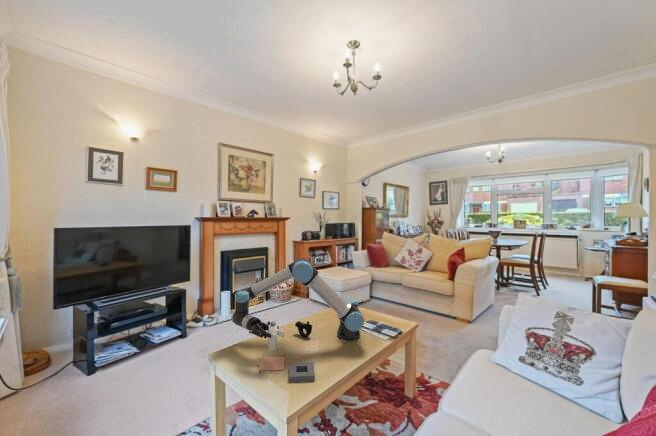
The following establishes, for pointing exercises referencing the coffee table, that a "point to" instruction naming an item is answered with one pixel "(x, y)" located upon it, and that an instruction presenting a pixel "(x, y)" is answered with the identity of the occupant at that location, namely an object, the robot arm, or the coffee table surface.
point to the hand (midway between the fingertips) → (279, 336)
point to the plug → (272, 343)
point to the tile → (272, 364)
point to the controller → (304, 326)
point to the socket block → (301, 372)
